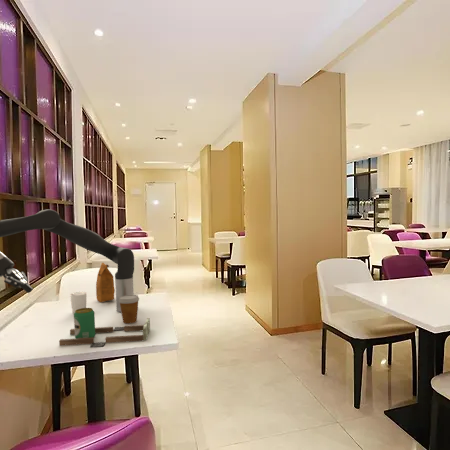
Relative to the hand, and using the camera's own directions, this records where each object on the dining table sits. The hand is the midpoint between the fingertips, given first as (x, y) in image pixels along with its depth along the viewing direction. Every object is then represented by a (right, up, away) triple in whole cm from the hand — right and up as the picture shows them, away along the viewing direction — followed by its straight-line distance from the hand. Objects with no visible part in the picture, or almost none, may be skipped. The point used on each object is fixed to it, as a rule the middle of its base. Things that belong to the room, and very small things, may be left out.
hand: (31, 291), depth 148 cm
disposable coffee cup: (+35, -19, +23) cm, 46 cm away
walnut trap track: (+30, -20, +4) cm, 37 cm away
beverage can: (+21, -21, +3) cm, 30 cm away
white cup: (+3, -19, +42) cm, 46 cm away
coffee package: (+9, -18, +66) cm, 69 cm away
